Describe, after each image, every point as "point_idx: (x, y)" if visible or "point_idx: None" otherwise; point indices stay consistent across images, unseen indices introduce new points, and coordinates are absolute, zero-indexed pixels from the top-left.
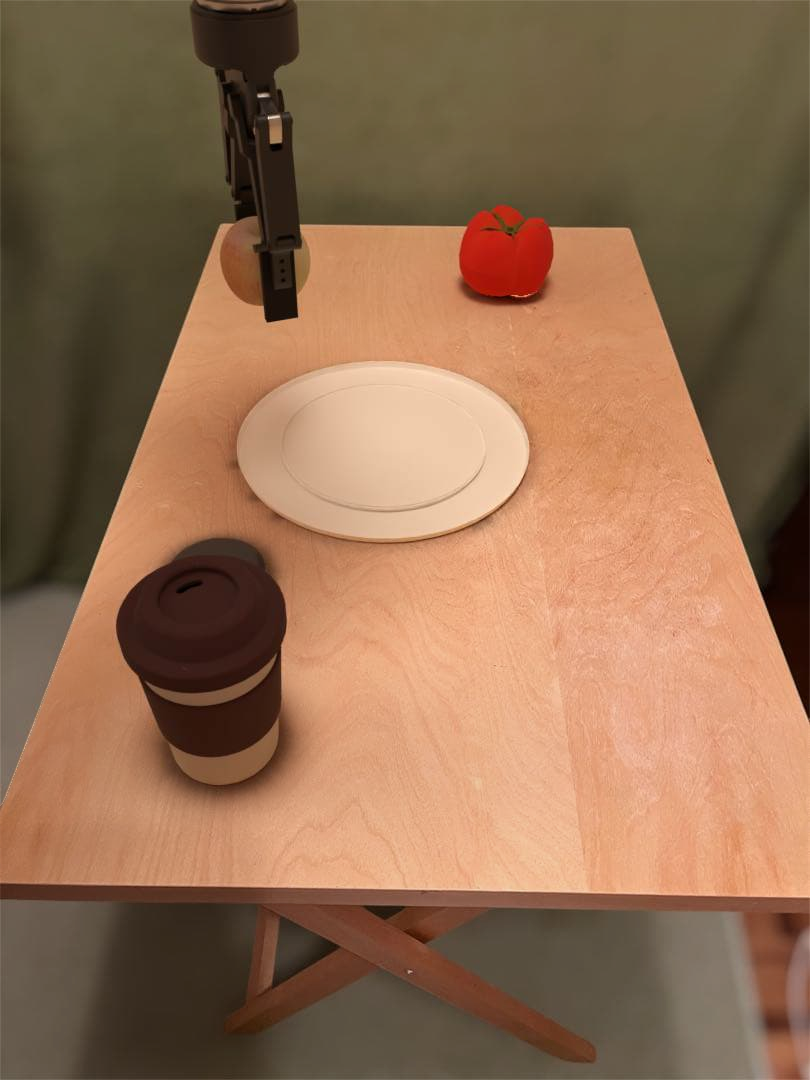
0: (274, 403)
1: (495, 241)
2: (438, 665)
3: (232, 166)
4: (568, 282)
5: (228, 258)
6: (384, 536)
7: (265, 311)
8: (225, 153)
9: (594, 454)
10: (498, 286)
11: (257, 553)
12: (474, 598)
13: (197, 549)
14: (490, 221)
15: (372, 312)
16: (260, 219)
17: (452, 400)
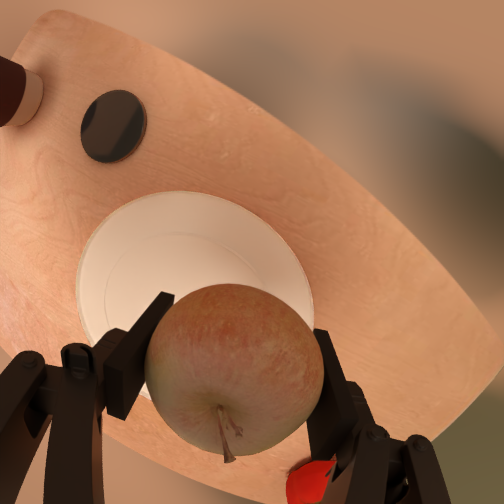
0: (296, 276)
1: (311, 496)
2: (14, 221)
3: (370, 497)
4: None
5: (205, 311)
6: (91, 255)
7: (158, 299)
8: (432, 492)
9: None
10: (299, 472)
11: (109, 160)
12: (38, 269)
13: (136, 119)
14: None
15: None
16: (57, 409)
17: None
